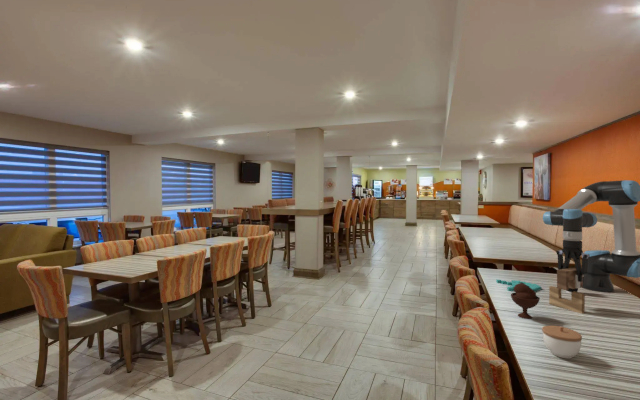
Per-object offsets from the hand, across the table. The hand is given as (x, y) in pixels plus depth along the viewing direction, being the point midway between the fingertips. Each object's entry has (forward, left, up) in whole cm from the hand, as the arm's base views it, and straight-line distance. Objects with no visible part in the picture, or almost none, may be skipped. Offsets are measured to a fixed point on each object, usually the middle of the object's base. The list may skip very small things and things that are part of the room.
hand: (572, 286), depth 153 cm
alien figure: (-11, -33, -11) cm, 37 cm away
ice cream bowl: (+35, -1, -10) cm, 37 cm away
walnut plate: (+2, 0, 0) cm, 2 cm away
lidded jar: (+58, +26, -10) cm, 64 cm away
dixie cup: (-27, -14, -10) cm, 33 cm away
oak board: (+5, 0, -10) cm, 11 cm away
